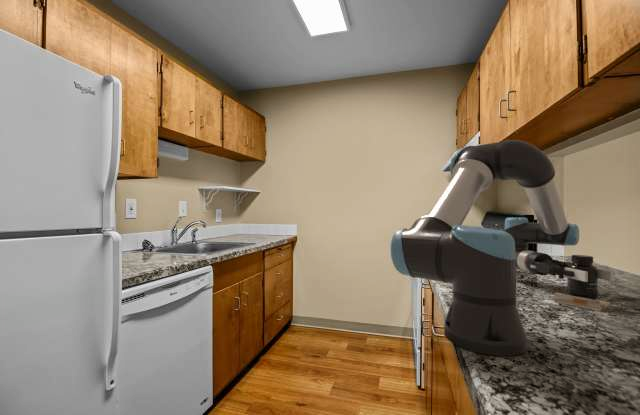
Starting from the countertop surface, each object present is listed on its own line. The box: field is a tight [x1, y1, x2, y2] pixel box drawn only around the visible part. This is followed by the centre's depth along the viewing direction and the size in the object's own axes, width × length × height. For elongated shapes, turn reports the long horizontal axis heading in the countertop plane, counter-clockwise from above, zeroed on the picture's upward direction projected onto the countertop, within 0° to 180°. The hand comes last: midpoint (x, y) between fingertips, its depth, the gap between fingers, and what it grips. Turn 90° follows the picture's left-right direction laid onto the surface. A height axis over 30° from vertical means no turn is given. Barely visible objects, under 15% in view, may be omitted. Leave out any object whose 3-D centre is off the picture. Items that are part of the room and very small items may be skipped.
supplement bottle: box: [566, 254, 599, 300], centre depth 89 cm, size 7×7×12 cm
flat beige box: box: [553, 292, 612, 312], centre depth 89 cm, size 10×10×3 cm
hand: (599, 276), depth 84 cm, fingers closed on supplement bottle, 7 cm apart
